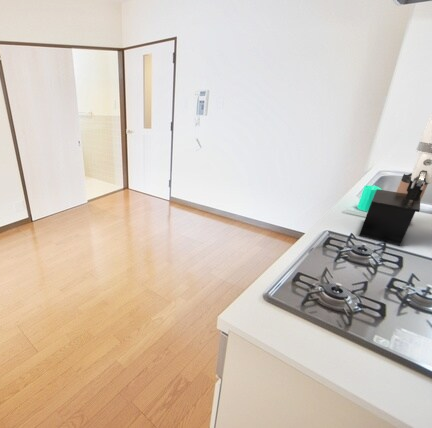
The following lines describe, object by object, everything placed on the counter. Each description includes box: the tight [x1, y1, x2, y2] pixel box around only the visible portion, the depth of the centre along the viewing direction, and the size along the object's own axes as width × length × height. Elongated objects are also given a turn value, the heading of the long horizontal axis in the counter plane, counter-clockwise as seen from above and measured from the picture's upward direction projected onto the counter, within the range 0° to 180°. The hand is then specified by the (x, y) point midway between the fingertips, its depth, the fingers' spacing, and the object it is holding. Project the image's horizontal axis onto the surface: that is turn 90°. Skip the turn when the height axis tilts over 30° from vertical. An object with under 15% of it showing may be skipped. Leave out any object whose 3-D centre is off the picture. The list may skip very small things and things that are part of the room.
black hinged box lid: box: [371, 189, 422, 213], centre depth 103 cm, size 12×17×5 cm
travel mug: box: [395, 172, 429, 202], centre depth 113 cm, size 8×8×20 cm
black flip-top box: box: [358, 203, 416, 247], centre depth 107 cm, size 12×17×14 cm
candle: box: [356, 184, 383, 212], centre depth 127 cm, size 6×6×12 cm
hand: (411, 195), depth 100 cm, fingers open, 9 cm apart
